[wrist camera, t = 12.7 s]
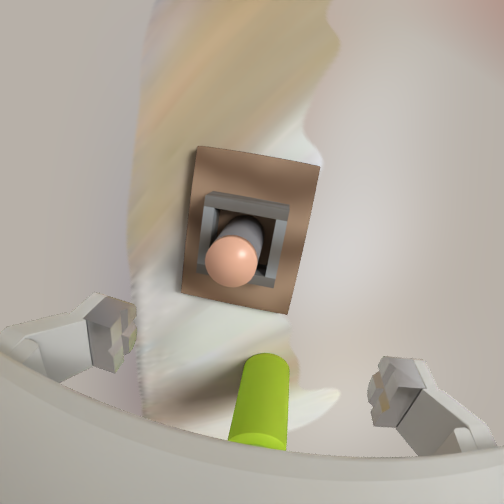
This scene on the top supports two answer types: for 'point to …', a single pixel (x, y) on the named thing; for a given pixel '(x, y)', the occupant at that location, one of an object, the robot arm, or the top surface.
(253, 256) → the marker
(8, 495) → the robot arm
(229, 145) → the top surface
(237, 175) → the wooden socket board
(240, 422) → the soap dispenser
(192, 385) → the top surface
